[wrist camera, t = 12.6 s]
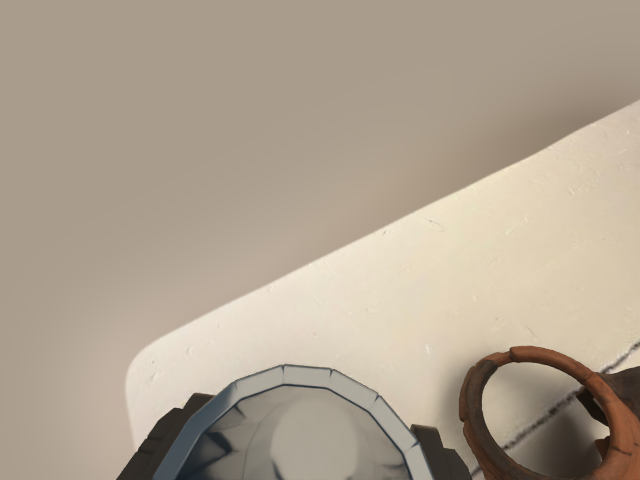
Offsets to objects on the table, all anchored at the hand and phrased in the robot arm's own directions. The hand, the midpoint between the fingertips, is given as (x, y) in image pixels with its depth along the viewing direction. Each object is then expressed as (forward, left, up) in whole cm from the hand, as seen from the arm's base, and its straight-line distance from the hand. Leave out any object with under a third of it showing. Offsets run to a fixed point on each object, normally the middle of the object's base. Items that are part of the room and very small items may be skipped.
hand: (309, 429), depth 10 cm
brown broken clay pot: (+6, -14, -13) cm, 20 cm away
